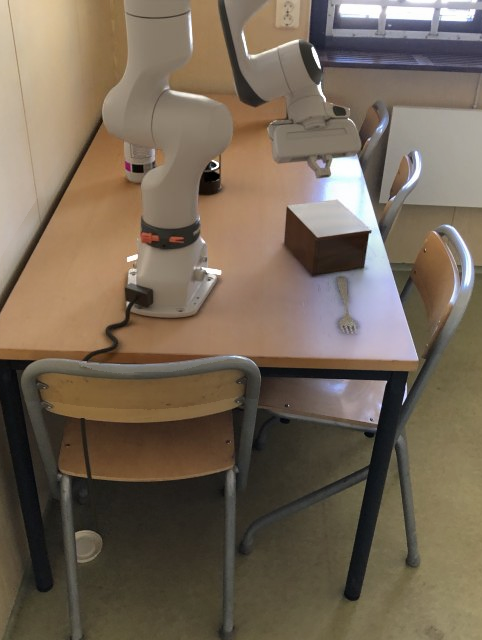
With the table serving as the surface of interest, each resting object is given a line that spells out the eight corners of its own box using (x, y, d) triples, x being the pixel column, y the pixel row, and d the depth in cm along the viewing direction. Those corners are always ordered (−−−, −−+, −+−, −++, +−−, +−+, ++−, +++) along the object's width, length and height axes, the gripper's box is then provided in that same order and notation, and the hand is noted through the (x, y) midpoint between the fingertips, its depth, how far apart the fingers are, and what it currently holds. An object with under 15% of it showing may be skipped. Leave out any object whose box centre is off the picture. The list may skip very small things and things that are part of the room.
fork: (348, 278, 151) (349, 270, 150) (358, 342, 131) (359, 334, 130) (333, 277, 151) (334, 270, 150) (341, 341, 131) (342, 333, 130)
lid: (371, 233, 149) (371, 230, 149) (317, 241, 145) (317, 237, 145) (337, 202, 162) (337, 199, 162) (286, 208, 158) (286, 205, 158)
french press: (218, 197, 184) (218, 109, 171) (182, 193, 185) (181, 106, 172) (225, 180, 194) (226, 95, 180) (191, 177, 194) (190, 93, 181)
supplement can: (119, 180, 191) (115, 125, 182) (137, 170, 197) (134, 117, 188) (144, 186, 188) (141, 131, 179) (161, 176, 194) (159, 122, 185)
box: (364, 268, 155) (369, 231, 150) (311, 276, 151) (315, 239, 146) (333, 237, 167) (337, 202, 162) (283, 244, 163) (286, 209, 158)
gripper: (269, 114, 147) (284, 175, 145) (355, 108, 154) (371, 166, 152) (261, 128, 153) (275, 187, 151) (344, 122, 160) (359, 178, 158)
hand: (323, 177), depth 152 cm, fingers closed
